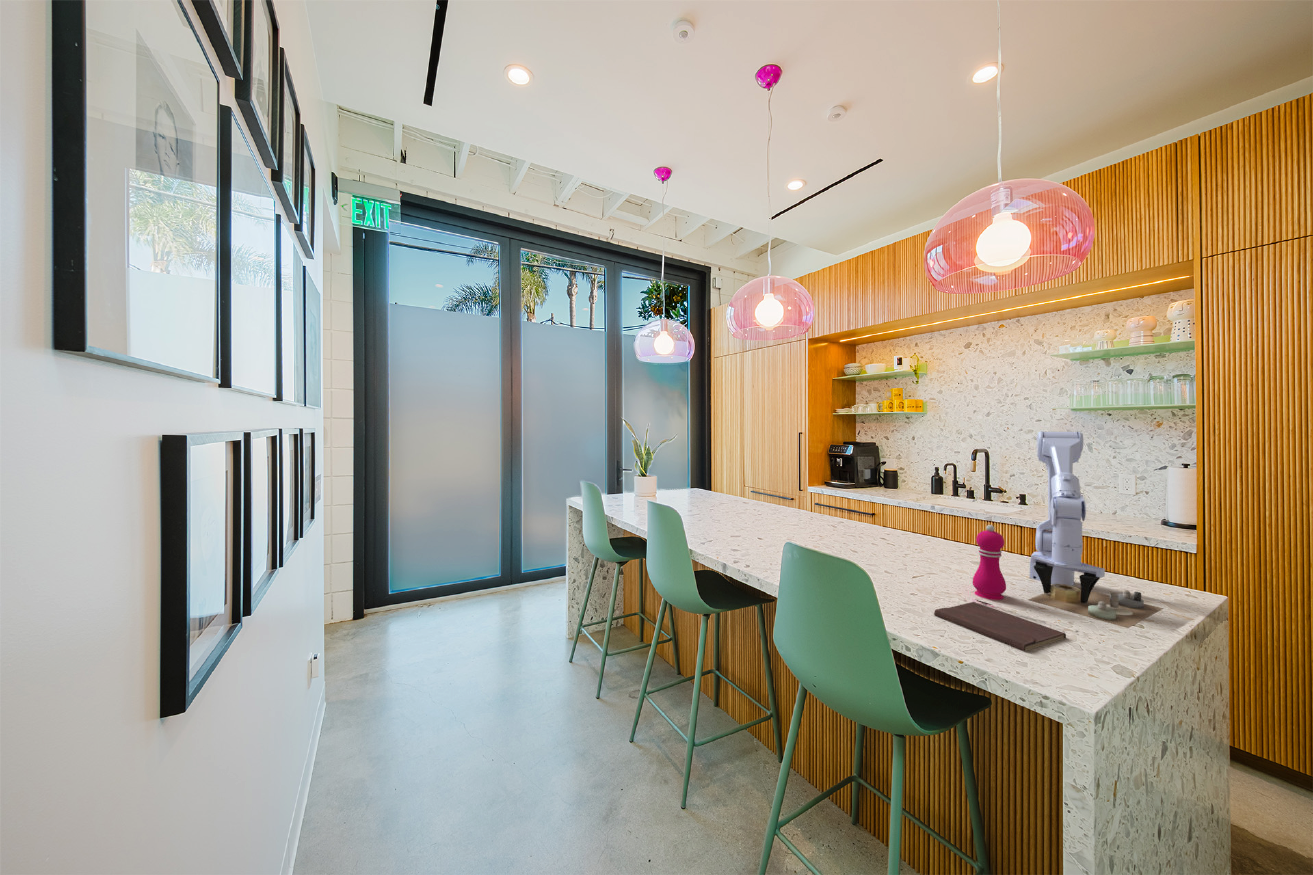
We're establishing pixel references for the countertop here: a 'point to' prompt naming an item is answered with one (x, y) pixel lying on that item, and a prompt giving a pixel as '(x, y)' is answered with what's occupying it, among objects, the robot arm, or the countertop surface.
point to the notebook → (1000, 625)
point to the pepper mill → (989, 566)
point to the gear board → (1095, 602)
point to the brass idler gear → (1065, 593)
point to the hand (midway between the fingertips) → (1065, 597)
